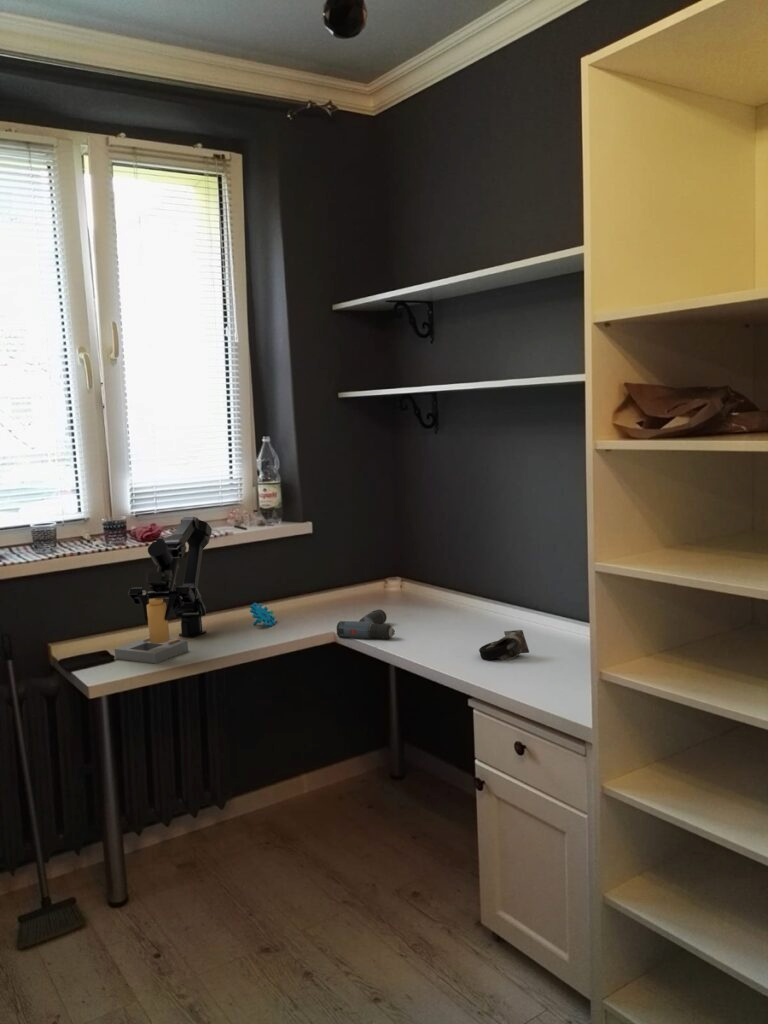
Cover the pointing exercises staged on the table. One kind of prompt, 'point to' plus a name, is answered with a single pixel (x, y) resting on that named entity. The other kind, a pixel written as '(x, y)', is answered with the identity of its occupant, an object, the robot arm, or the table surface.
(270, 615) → the gear
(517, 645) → the caster wheel
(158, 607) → the yellow cylinder
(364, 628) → the power drill
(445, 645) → the table surface
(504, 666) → the table surface
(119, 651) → the block
